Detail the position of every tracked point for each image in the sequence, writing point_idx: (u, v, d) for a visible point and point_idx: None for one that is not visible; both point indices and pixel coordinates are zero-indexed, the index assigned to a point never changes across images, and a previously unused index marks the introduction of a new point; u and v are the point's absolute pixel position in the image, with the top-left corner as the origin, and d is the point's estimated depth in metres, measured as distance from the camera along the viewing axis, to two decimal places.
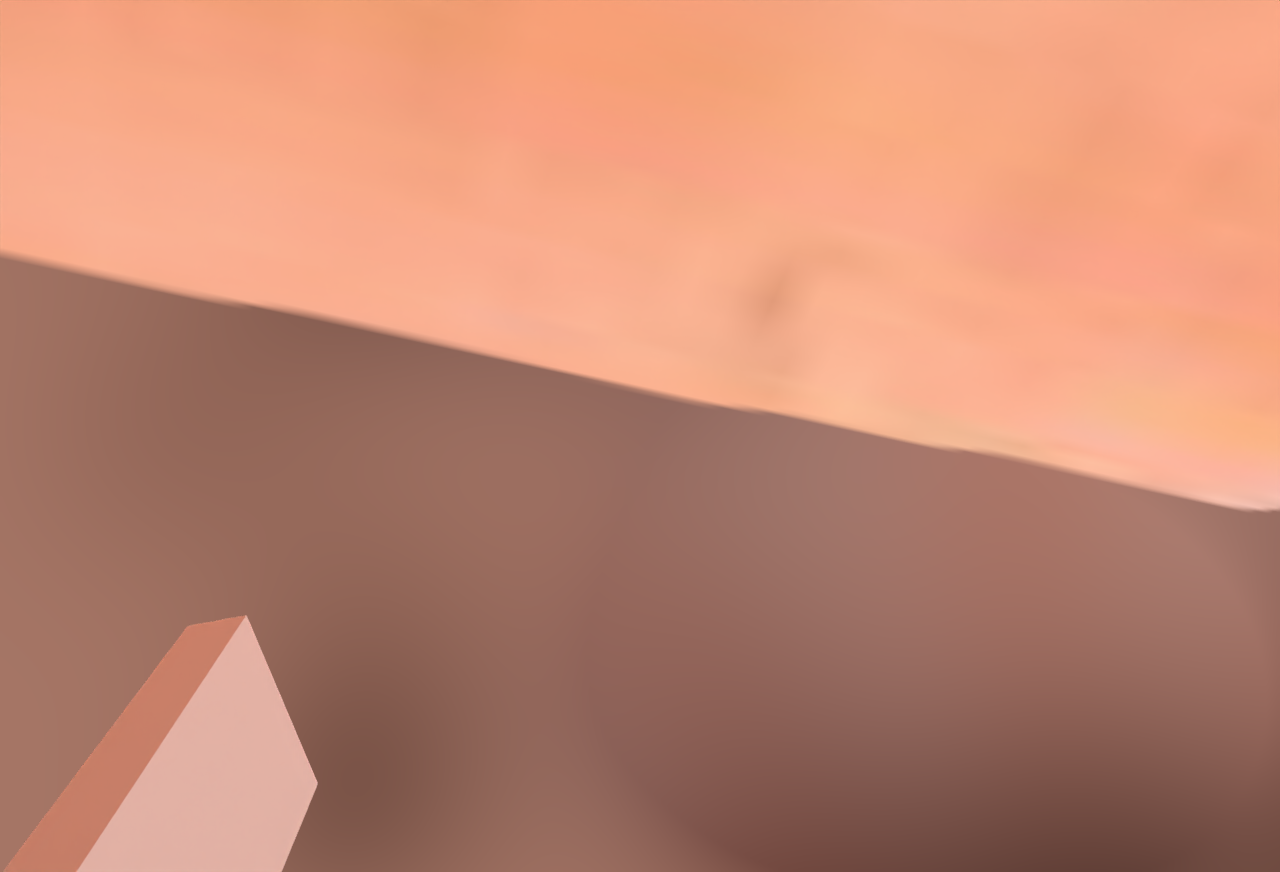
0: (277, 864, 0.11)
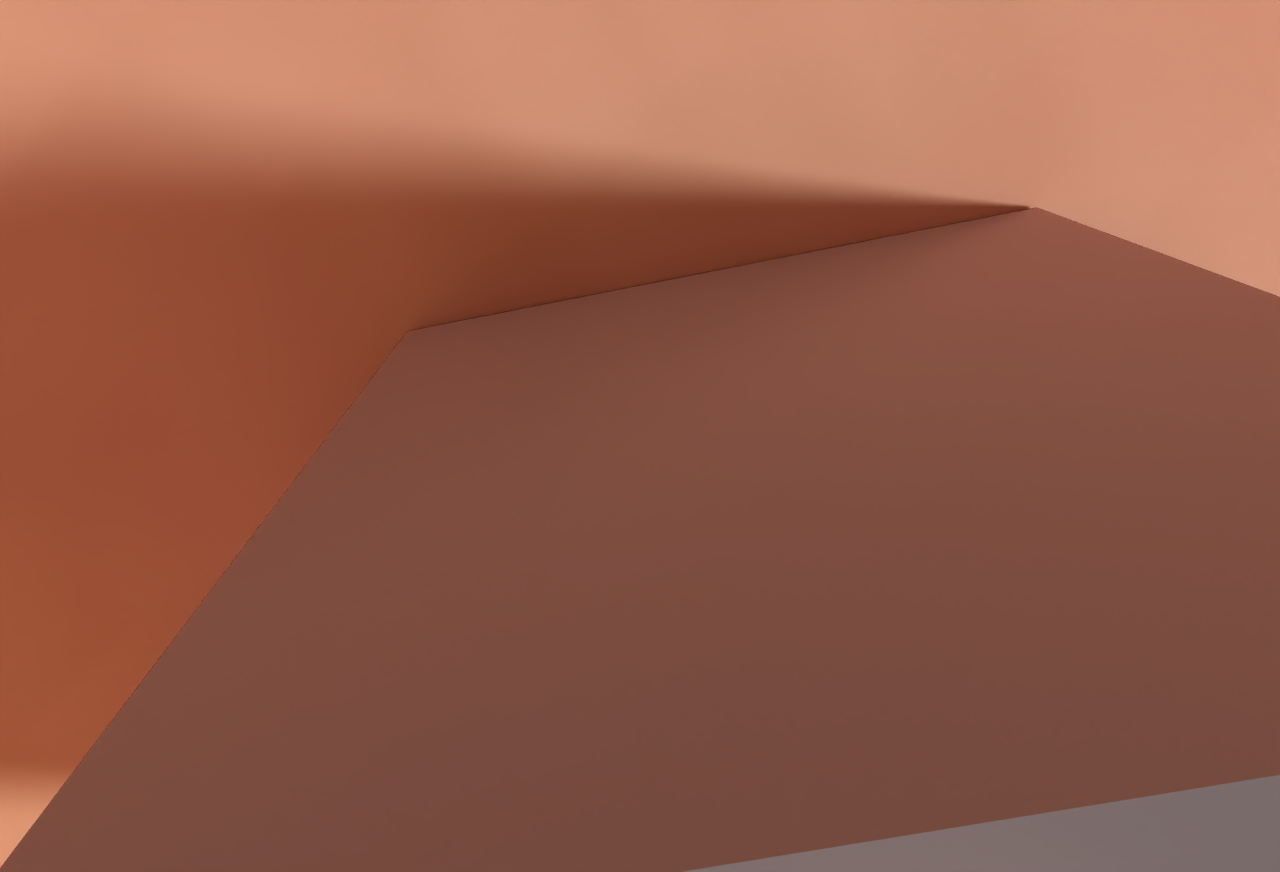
0: None
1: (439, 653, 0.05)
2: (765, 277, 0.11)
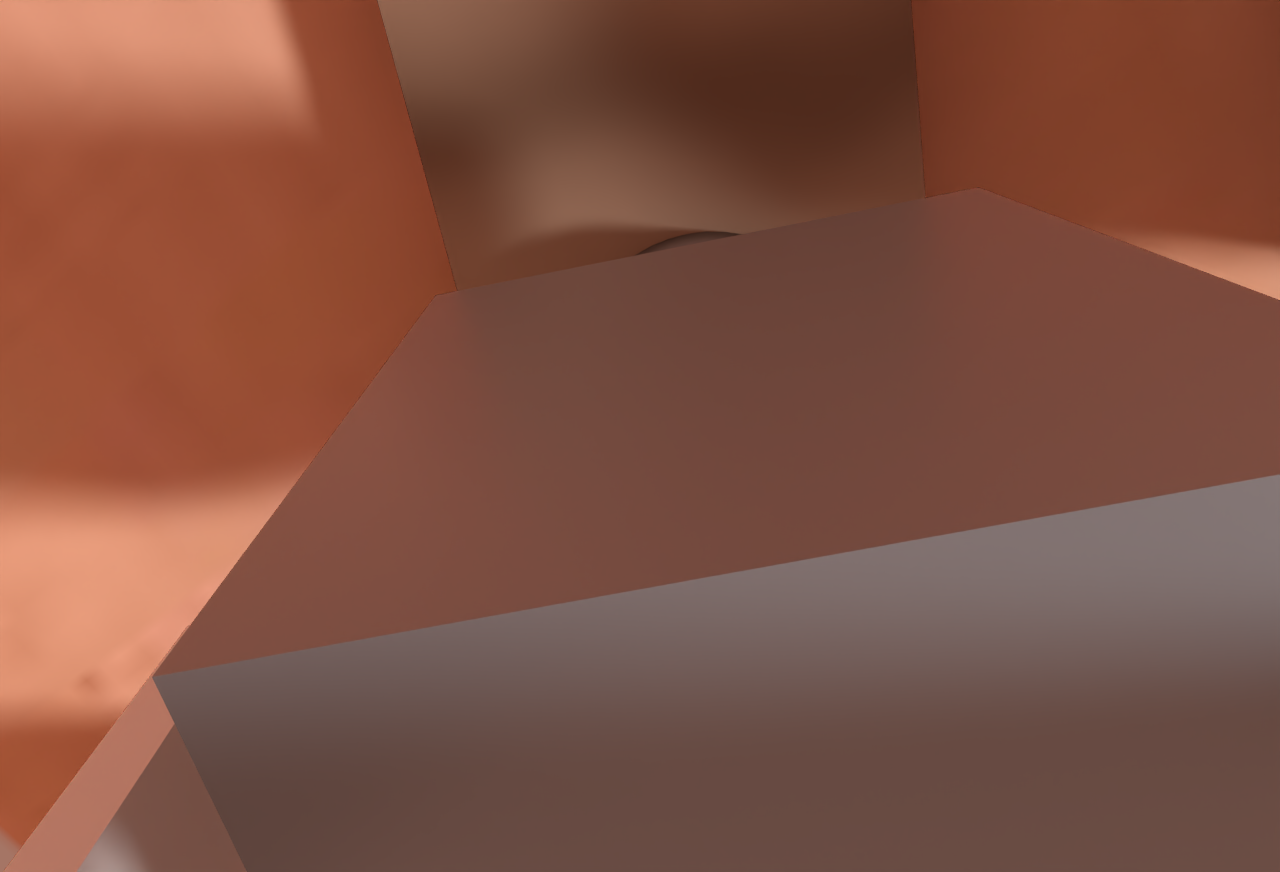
0: None
1: (490, 495, 0.07)
2: (743, 246, 0.13)
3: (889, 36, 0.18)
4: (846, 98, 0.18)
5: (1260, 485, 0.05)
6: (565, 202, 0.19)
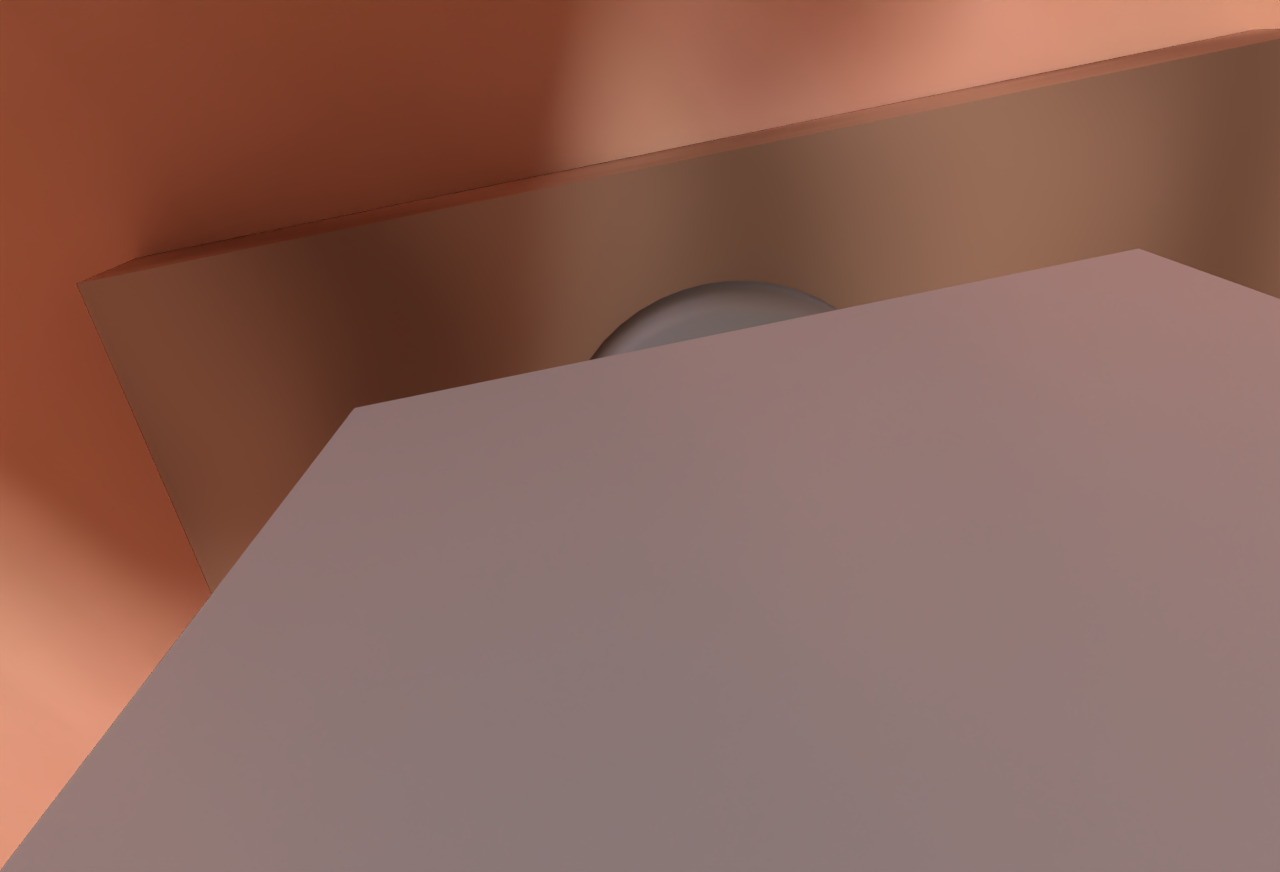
0: None
1: None
2: None
3: (324, 263, 0.15)
4: (399, 307, 0.15)
5: None
6: None
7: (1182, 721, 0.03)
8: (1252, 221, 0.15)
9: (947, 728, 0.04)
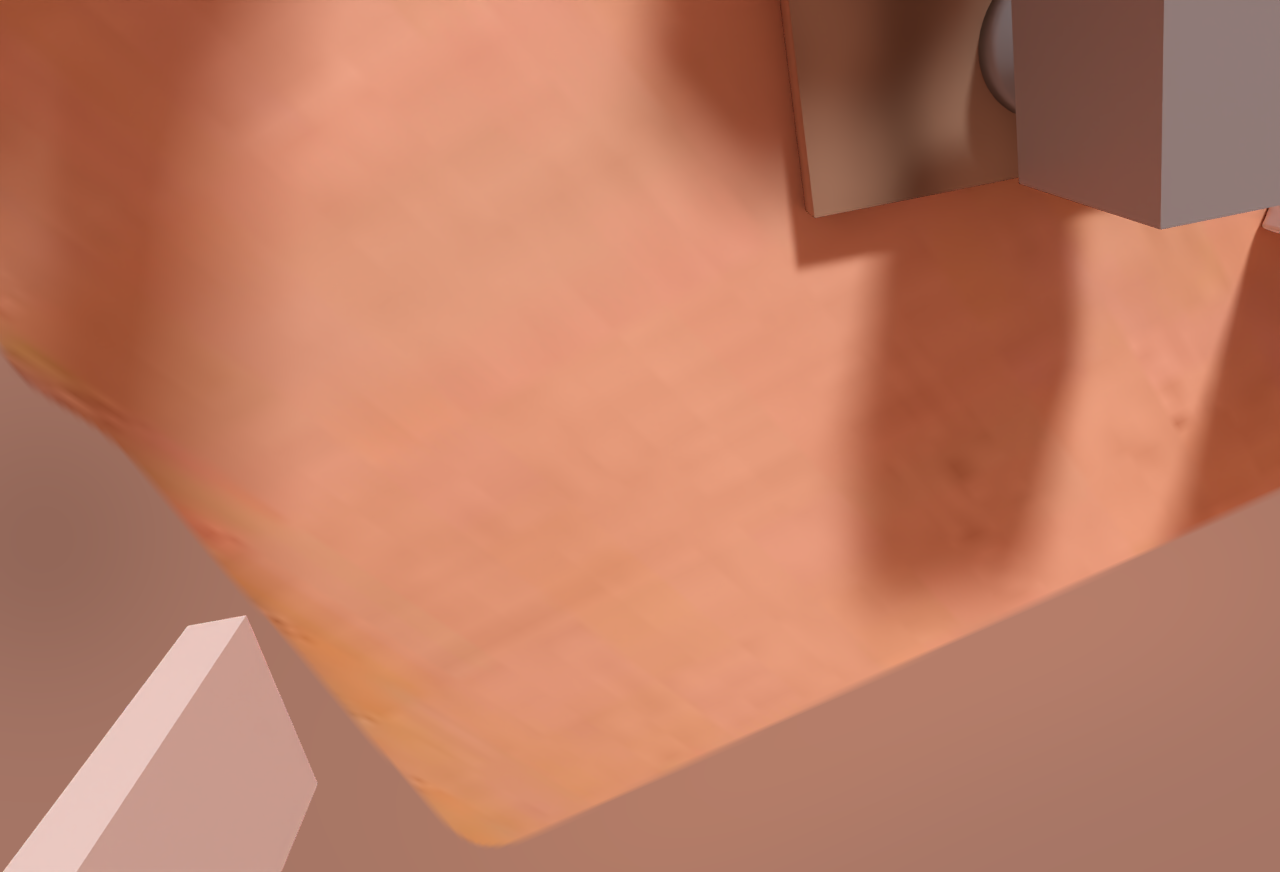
0: (277, 864, 0.11)
1: (1127, 152, 0.24)
2: (1022, 44, 0.29)
3: None
4: None
5: None
6: (953, 122, 0.37)
7: None
8: None
9: None
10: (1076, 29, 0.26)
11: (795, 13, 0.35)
